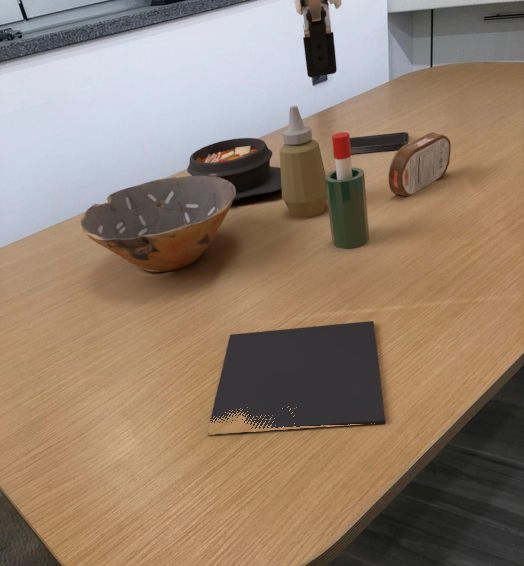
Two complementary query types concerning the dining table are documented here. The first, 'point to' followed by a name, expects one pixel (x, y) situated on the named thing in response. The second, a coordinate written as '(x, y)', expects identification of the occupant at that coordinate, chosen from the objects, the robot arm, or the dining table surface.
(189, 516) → the dining table surface
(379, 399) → the mat
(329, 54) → the robot arm
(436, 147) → the tin
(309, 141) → the squeeze bottle
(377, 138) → the phone
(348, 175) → the rod
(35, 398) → the dining table surface
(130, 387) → the dining table surface
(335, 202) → the pen holder
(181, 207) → the bowl
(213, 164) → the casserole
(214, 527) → the dining table surface
